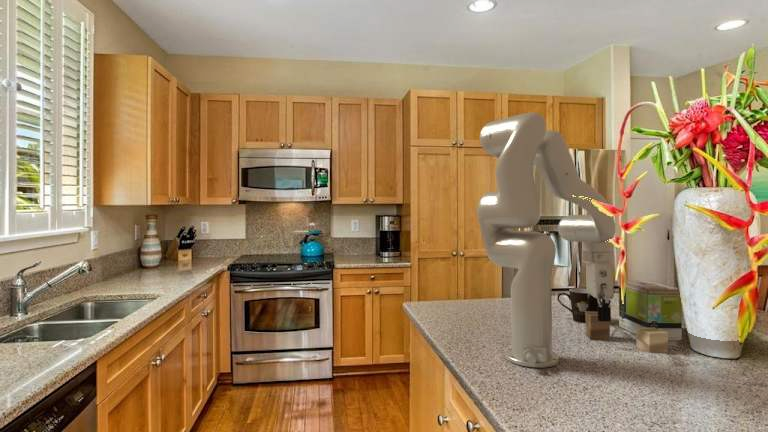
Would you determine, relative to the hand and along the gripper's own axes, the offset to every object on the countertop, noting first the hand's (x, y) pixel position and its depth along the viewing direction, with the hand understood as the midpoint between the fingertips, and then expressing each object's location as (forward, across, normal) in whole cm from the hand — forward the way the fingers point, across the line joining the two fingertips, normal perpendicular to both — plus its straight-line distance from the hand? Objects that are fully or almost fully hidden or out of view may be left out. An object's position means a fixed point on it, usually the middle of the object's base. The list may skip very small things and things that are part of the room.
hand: (598, 316), depth 120 cm
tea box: (+7, +6, -15) cm, 18 cm away
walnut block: (+6, -1, +1) cm, 6 cm away
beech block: (+6, -9, -10) cm, 15 cm away
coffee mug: (+7, +19, +1) cm, 20 cm away
